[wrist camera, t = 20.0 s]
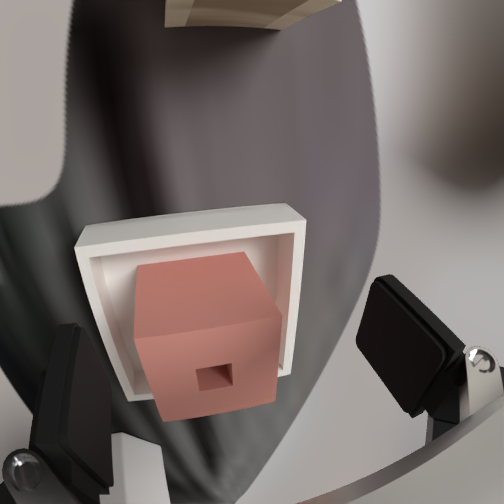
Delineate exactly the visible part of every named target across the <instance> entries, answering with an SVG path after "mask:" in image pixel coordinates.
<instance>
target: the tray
mask: <svg viewBox="0 0 504 504" xmlns="http://www.w3.org/2000/svg"><path fill="white" fill-rule="evenodd" d="M305 231H306V219H304V218H303V217H302V216H301V215H300V214H298V213H297V212H296V211H295V210H294V209H292V208H291V207H290V206H289V205H287V204H286V203H278V204H266V205H254V206H243V207H233V208H222V209H212V210H203V211H193V212H184V213H176V214H167V215H159V216H151V217H143V218H135V219H128V220H120V221H113V222H106V223H99V224H92V225H86V226H85V228H84V230H83V232H82V234H81V235H80V237H79V239H78V241H77V243H76V245H75V247H74V249H75V253H76V257H77V261H78V265H79V268H80V272H81V276H82V279H83V282H84V286H85V289H86V293H87V296H88V299H89V302H90V305H91V308H92V311H93V314H94V317H95V320H96V323H97V326H98V329H99V332H100V334H101V337H102V340H103V343H104V345H105V348H106V350H107V353H108V356H109V358H110V361H111V363H112V365H113V368H114V370H115V373H116V375H117V377H118V380H119V382H120V384H121V386H122V389H123V391H124V393H125V395H126V397H127V400H128V401H138V400H148V399H154V397H153V395H152V392H151V389H150V387H149V384H148V381H147V378H146V375H145V372H144V369H143V366H142V363H141V360H140V357H139V354H138V351H137V348H136V345H135V342H134V313H135V294H136V279H137V266H138V265H143V264H151V263H159V262H166V261H174V260H182V259H189V258H197V257H205V256H213V255H221V254H228V253H236V252H245V253H246V255H247V257H248V258H249V260H250V262H251V263H252V265H253V267H254V269H255V270H256V272H257V274H258V275H259V277H260V279H261V280H262V282H263V284H264V285H265V287H266V289H267V290H268V292H269V294H270V296H271V297H272V299H273V301H274V302H275V304H276V306H277V307H278V309H279V311H280V312H281V314H282V328H281V341H280V353H279V365H278V376H277V377H280V376H284V375H288V374H291V366H292V359H293V351H294V342H295V334H296V325H297V316H298V307H299V298H300V288H301V277H302V267H303V255H304V243H305Z"/></svg>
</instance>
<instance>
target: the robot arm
mask: <svg viewBox="0 0 504 504" xmlns="http://www.w3.org/2000/svg"><path fill="white" fill-rule="evenodd" d="M356 344H357V347H358V348H359V350H360V351H361V352H362V354H363V355H364V356H365V358H366V359H367V361H368V362H369V363H370V365H371V366H372V368H373V369H374V370H375V372H376V373H377V374H378V376H379V377H380V379H381V380H382V381H383V382H384V384H385V386H386V387H387V388H388V390H389V391H390V393H391V394H392V395H393V397H394V398H395V399H396V401H397V402H398V404H399V405H400V407H401V408H402V409H403V411H404V412H406V413H409V415H410V416H411V417H412V418H414V417H416V416H418V415H419V414H421V413H423V411H424V410H426V411H427V412H428V421H427V432H426V443H425V446H423V447H422V448H420V449H418V450H417V451H415V452H413V453H411V454H410V455H408V456H406V457H404V458H402V459H400V460H399V461H397V462H395V463H393V464H391V465H389V466H387V467H385V468H383V469H381V470H379V471H377V472H375V473H373V474H371V475H369V476H367V477H364V478H362V479H360V480H358V481H355V482H353V483H351V484H348V485H346V486H343V487H341V488H339V489H336V490H333V491H331V492H328V493H326V494H323V495H320V496H318V497H315V498H312V499H309V500H306V501H303V502H300V503H297V504H504V367H500V366H499V363H498V360H497V358H496V357H495V355H494V354H493V353H492V352H491V351H489V350H487V349H486V348H483V347H480V346H474V347H471V348H469V349H468V350H467V352H466V353H465V354H464V353H463V350H464V348H465V346H466V345H464V343H463V342H462V341H461V340H460V339H459V338H458V337H457V336H456V335H455V334H454V333H453V332H452V331H451V330H450V329H449V328H448V327H447V326H446V325H445V324H444V323H443V322H442V321H441V320H440V319H439V318H438V317H437V316H436V315H435V314H434V313H433V312H432V311H430V309H429V308H428V307H426V306H425V305H424V304H423V303H422V302H421V301H420V300H419V299H418V298H417V297H416V296H415V295H414V294H413V293H412V292H411V291H410V290H408V289H407V288H406V287H405V286H404V285H403V284H402V283H401V282H400V281H399V280H398V279H397V278H395V277H394V276H393V275H390V274H389V275H384V276H380V277H377V278H376V279H375V280H374V282H373V283H372V284H371V286H370V291H369V294H368V298H367V302H366V305H365V309H364V312H363V316H362V319H361V323H360V326H359V329H358V333H357V336H356ZM2 476H3V480H4V481H3V482H2V483H1V484H0V504H100V495H110V491H109V487H113V485H114V476H113V461H112V438H111V388H110V384H109V382H108V380H107V378H106V376H105V374H104V372H103V370H102V367H101V365H100V363H99V361H98V359H97V356H96V354H95V352H94V349H93V347H92V345H91V342H90V340H89V338H88V335H87V333H86V330H85V329H84V328H83V327H82V328H80V327H79V325H78V324H77V323H72V324H60V325H59V326H58V328H57V332H56V336H55V339H54V343H53V347H52V351H51V355H50V359H49V364H48V368H47V369H44V370H43V371H42V374H41V378H40V382H39V387H38V392H37V397H36V402H35V408H34V414H33V420H32V426H31V433H30V441H29V449H25V448H22V449H17V450H15V451H13V452H11V453H10V454H9V455H8V456H7V457H6V459H5V461H4V463H3V468H2Z"/></svg>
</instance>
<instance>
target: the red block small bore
mask: <svg viewBox="0 0 504 504" xmlns="http://www.w3.org/2000/svg"><path fill="white" fill-rule="evenodd" d="M281 328H282V314H281V312H280V311H279V309H278V307H277V306H276V304H275V302H274V301H273V299H272V297H271V296H270V294H269V292H268V290H267V289H266V287H265V285H264V284H263V282H262V280H261V279H260V277H259V275H258V274H257V272H256V270H255V269H254V267H253V265H252V263H251V262H250V260H249V258H248V257H247V255H246V253H245V252H236V253H228V254H221V255H213V256H205V257H197V258H189V259H182V260H174V261H166V262H159V263H151V264H143V265H138V266H137V279H136V294H135V313H134V342H135V345H136V348H137V351H138V354H139V357H140V360H141V363H142V366H143V369H144V372H145V375H146V378H147V381H148V384H149V387H150V389H151V392H152V395H153V397H154V400H155V403H156V405H157V408H158V410H159V413H160V415H161V418H162V420H163V422H167V421H175V420H182V419H189V418H196V417H202V416H208V415H214V414H219V413H225V412H230V411H235V410H240V409H244V408H249V407H254V406H258V405H262V404H266V403H271V402H275V398H276V387H277V376H278V365H279V353H280V341H281Z"/></svg>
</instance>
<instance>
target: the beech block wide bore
mask: <svg viewBox="0 0 504 504" xmlns="http://www.w3.org/2000/svg"><path fill="white" fill-rule="evenodd" d="M339 2H341V0H166V2H165V28H166V27H184V26H235V27H254V28H266V29H277V30H283V29H284V28H286V27H288V26H290V25H292V24H294V23H296V22H298V21H300V20H302V19H304V18H306V17H308V16H310V15H312V14H315V13H317V12H319V11H321V10H323V9H326V8H328V7H330V6H332V5H335V4H337V3H339Z"/></svg>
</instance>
